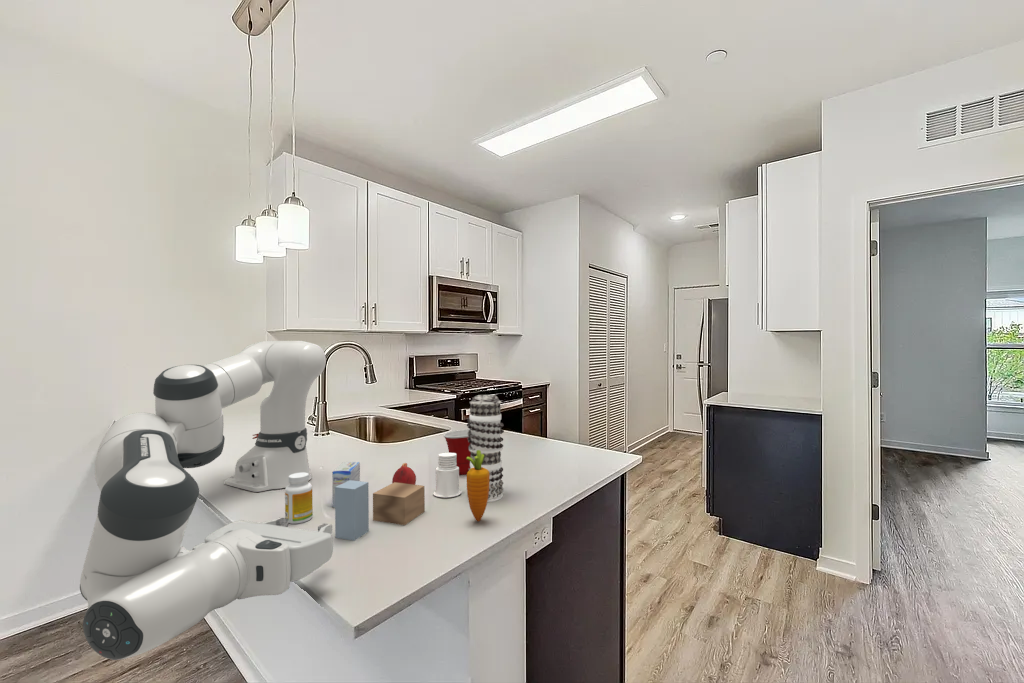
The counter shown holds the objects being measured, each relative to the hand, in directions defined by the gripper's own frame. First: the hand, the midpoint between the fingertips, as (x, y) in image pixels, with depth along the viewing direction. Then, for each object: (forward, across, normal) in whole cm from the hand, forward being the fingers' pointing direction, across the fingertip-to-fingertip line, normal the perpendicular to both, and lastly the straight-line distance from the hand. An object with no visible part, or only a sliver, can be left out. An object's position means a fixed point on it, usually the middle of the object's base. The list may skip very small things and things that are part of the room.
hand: (306, 524), depth 77 cm
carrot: (+26, +22, -7) cm, 34 cm away
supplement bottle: (+15, -16, -7) cm, 23 cm away
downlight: (+39, +8, -7) cm, 41 cm away
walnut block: (+23, +4, -7) cm, 25 cm away
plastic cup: (+57, +3, -7) cm, 58 cm away
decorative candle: (+40, +18, -7) cm, 45 cm away
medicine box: (+27, -13, -7) cm, 31 cm away
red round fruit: (+35, -2, -7) cm, 36 cm away
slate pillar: (+12, 0, -7) cm, 14 cm away
